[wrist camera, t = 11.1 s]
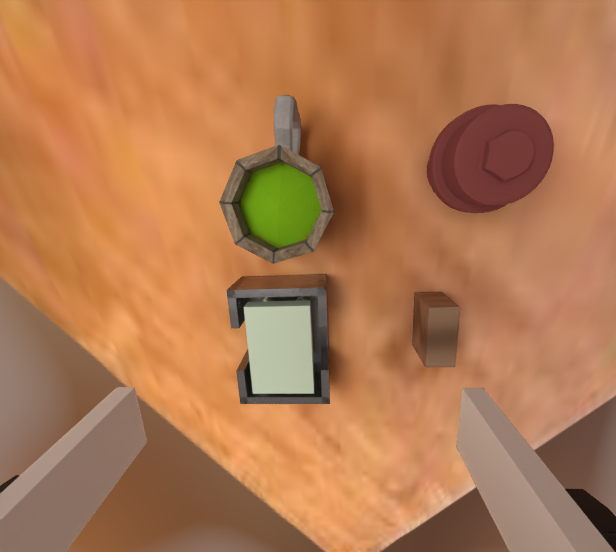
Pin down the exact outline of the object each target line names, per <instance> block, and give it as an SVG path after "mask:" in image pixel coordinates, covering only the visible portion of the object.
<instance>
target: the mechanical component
mask: <svg viewBox="0 0 616 552" xmlns="http://www.w3.org/2000/svg"><path fill="white" fill-rule="evenodd" d="M553 147H554V143H553V136H552V133H551V129H550V127H549V125H548V123H547V122H546V120H545V119H544V118H543V117H542V116H541V115H540V114H539V113H538V112H537V111H535V110H533V109H532V108H530V107H527V106H524V105H518V104H506V105H484V106H480V107H476V108H474V109H471V110H469V111H467V112H465V113H463V114H462V115H460V116H459V117H457V118H456V119H454V120H453V121H452V122H450V123H449V124H448V125H447V126H446V127H445V128H444V129H443V131H442V132H441V133H440V134H439V136H438V138H437V139H436V141H435V143H434V145H433V147H432V150H431V154H430V158H429V161H428V165H427V177H428V180H429V183H430V185H431V187H432V188H433V191H434V192H435V193H436V195H437V196H438V197H439V198H440V199H441V201H442V202H444V203H445V204H446V205H448V206H449V207H451V208H453V209H456V210H458V211H463V212H470V213H484V212H490V211H493V210H496V209H499V208H501V207H503V206H505V205H507V204H509V203H512V202H515V201H517V200H519V199H521V198H523V197H524V196H526V195H528V194H529V193H530V192H531V191H532V190H534V189H535V188H536V187H537V186H538V184H539V183H540V182H541V181H542V179H543V178H544V176H545V175H546V173H547V171H548V169H549V167H550V164H551V161H552V156H553Z"/></svg>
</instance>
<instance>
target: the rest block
mask: <svg viewBox="0 0 616 552" xmlns="http://www.w3.org/2000/svg"><path fill="white" fill-rule="evenodd" d="M459 315H460V306H458V305H457V304H456V303H455V302H453V301H452V300H451V299H450V298H448V297H447V296H446V295H445V294H443V293H442V292H415V295H414V317H413V338H412V345H413V347H414V349H415V350H416V352H417V354H418V355H419V357H420V359H421V361H422V362H423V364H424V366H425V367H455V361H456V350H457V338H458V327H459Z"/></svg>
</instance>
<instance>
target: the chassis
mask: <svg viewBox="0 0 616 552" xmlns="http://www.w3.org/2000/svg"><path fill="white" fill-rule="evenodd" d="M227 297H228V305H229V313H230V322H231V328H240V326H241V325H242V323H243V322H244V320H245V315H244V306H245V305H246V304H247V302H257V301H299V300H311V318H312V340H313V361H314V382H315V385H314V393H313V394H253V390H252V380H251V371H250V362H249V352H248V350H247V352H246V354H245V356H244V357H243V359H242V361H241V363H240V365H239V367H238V369H237V380H238V388H239V396H240V404H330V385H329V349H328V318H327V287H326V274H313V275H280V276H247V277H241V278H240V279H239V280H237V281H236V282H235V283H234V284H233V285H232V286H231V287H230V288H229V289H228V290H227Z"/></svg>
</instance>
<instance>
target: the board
mask: <svg viewBox="0 0 616 552" xmlns="http://www.w3.org/2000/svg"><path fill="white" fill-rule="evenodd" d="M244 315H245V324H246V334H247V343H248V352H249V362H250V371H251V380H252V390H253V394H313V393H314V385H315V382H314V361H313V340H312V318H311V300H299V301H257V302H247V304H246V305H245V306H244Z"/></svg>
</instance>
